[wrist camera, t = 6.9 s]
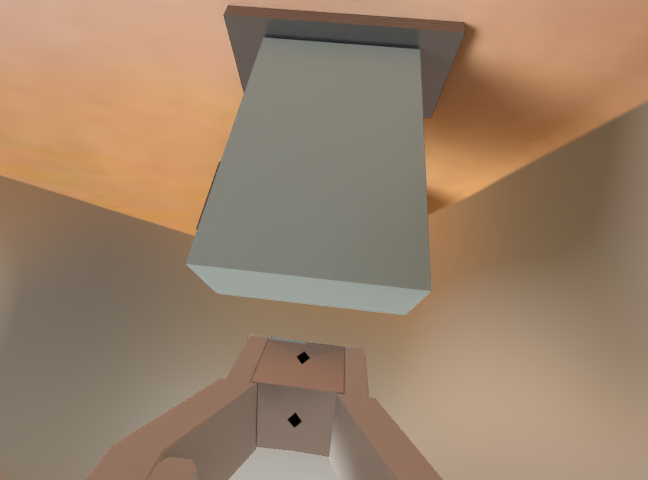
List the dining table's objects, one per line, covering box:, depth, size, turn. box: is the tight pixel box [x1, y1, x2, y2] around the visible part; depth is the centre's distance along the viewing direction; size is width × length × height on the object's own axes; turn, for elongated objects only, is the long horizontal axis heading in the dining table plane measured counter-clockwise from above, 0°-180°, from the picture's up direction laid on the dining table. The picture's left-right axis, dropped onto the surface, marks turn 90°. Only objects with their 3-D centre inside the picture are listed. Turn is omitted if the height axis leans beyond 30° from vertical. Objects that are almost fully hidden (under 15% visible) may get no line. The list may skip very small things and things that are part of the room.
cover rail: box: [224, 6, 465, 118], centre depth 20 cm, size 6×14×1 cm, turn 90°
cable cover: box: [186, 37, 431, 315], centre depth 17 cm, size 4×10×15 cm, turn 90°
